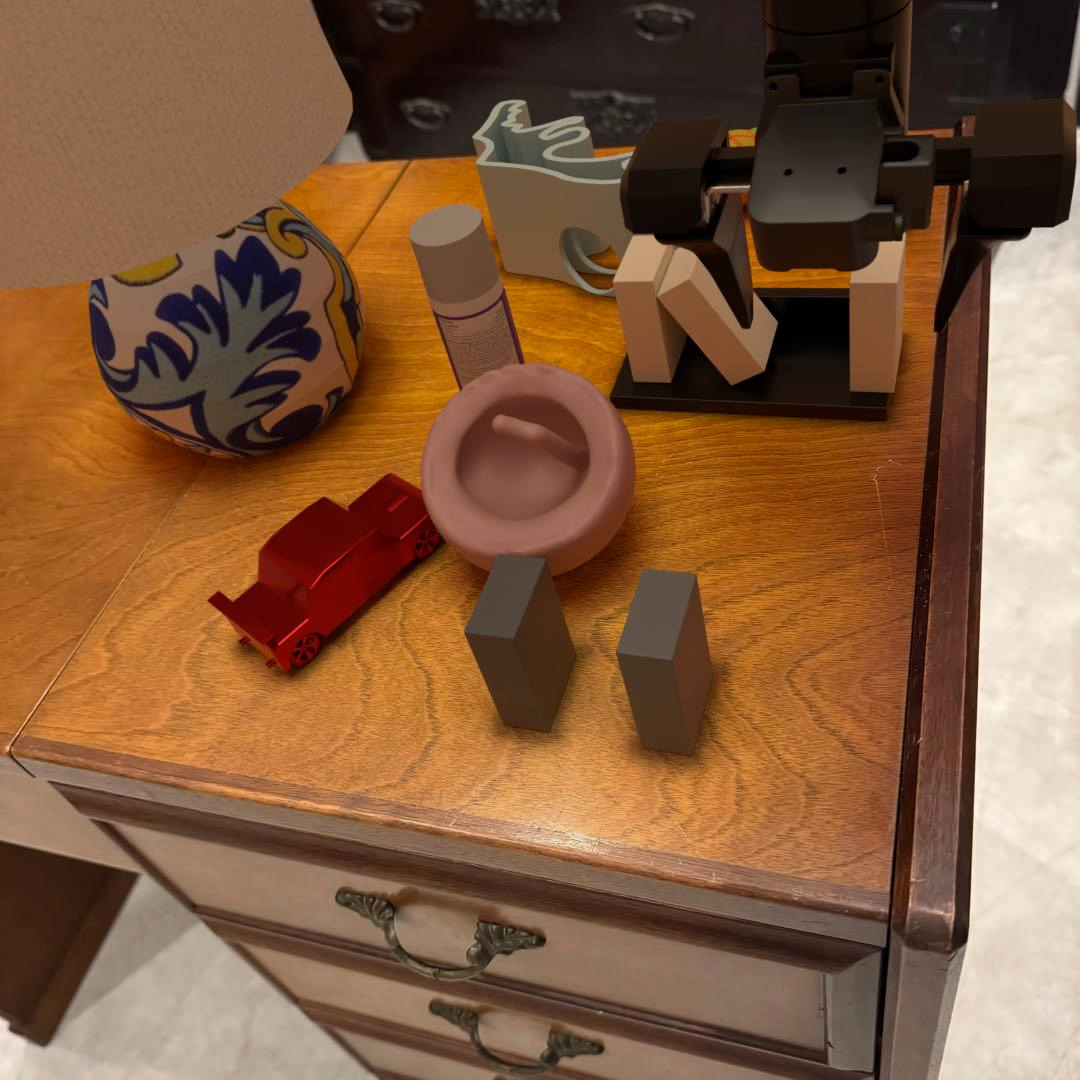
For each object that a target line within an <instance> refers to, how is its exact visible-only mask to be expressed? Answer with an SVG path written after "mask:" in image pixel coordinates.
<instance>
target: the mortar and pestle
mask: <svg viewBox="0 0 1080 1080" xmlns="http://www.w3.org/2000/svg"><path fill="white" fill-rule="evenodd" d="M636 476H637V466H636V455H635V448H634V444H633V440H632V438H631V434H630V432H629V429H628V427H627V425H626V423H625V421H624V419H623V417H622V416H621V414H620V413H619V410H618V409H617V408H615V407H614V405H613V404H612V403H611V402H610V398H608V397H607V395H606V394H604V393H603V391H601V390H600V389H599V388H597V386H595V384H594V383H592V382H591V381H590V380H589V379H588V378H586V377H584V376H583V375H581V374H580V373H576V372H574V371H571V370H569V369H565V368H562V367H560V366H557V365H553V364H548V363H546V362H545V363H544V362H528V363H525V364H517V363H515V364H510V365H507V366H504V367H502V368H501V369H498V370H491V371H488V372H485V373H484V374H483V375H482V376H481V377H479V378H477V379H475V380H473V381H471V382H469V383H468V384H466V385H465V386H464V387H463V388H462V390H461V391H460V390H459V392H457V393H456V394H454V395H452V397H451V398H450V399H449V400H448V402H447V404H446V405H445V406H444V407H443V408H442V409H441V410H440V412H439V413H438V414H437V415H436V417H435V418H434V420H433V422H432V425H431V427H430V429H429V431H428V433H427V437H426V440H425V443H424V446H423V450H422V455H421V462H420V489H421V490H422V496H423V499H424V503H425V506H426V509H427V511H428V514H429V516H430V518H431V520H432V522H433V524H434V525H435V527H436V529H437V530H438V532H439V535H440V537H442V539H443V540H444V541H445V542H446V543H447V544H448V545H449V546H450V547H451V549H452V550H453V551H455V552H456V553H457V554H458V555H460V556H461V557H462V558H463V559H464V560H466V561H468V562H469V563H471V564H473V565H474V566H476V567H477V568H480V569H481V570H484V571H486V572H488V573H490V571H491V569H492V567H493V565H494V562H495V560H496V558H497V556H498V554H506V555H516V556H526V557H535V558H545V559H546V560H547V563H548V566H549V570H550V573H551V576H552V577H556V576H559V575H562V574H565V573H568V572H570V571H572V570H575V569H576V568H579V567H581V566H583V564H585V563H587V562H589V561H591V559H593V558H594V557H595V556H597V555H598V554H599V553H600V552H601V551H602V550H603V549H605V547H607V545H608V544H609V543H610V542H611V541H612V540H613V538H614V537H615V536H616V534H618V531H619V530H620V528H621V527H622V526H623V524H624V521H625V520H626V517H627V515H628V513H629V511H630V508H631V505H632V500H633V497H634V493H635V489H636V488H635V487H636Z"/></svg>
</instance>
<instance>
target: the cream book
mask: <svg viewBox="0 0 1080 1080" xmlns="http://www.w3.org/2000/svg"><path fill="white" fill-rule="evenodd" d="M906 248H907V233H906V232H904V234H903V239H902V241H900V242H894V241H893V242H879V249H878V254H877V256H876V258H875V260H874V261H873V262H872V263H871V264H870V265H869V266H867V267H865V268H863V269H861V270H858V271H852V272H851V275H850V279H849V288H850V391H857V392H884V393H891V394H894V393H895V389H896V382H897V375H898V369H899V364H900V358H901V357H900V356H901V350H902V345H903V326H904V325H903V324H904V303H905V279H906V278H905V276H906V252H907V249H906Z"/></svg>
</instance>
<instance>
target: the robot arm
mask: <svg viewBox="0 0 1080 1080" xmlns="http://www.w3.org/2000/svg"><path fill="white" fill-rule="evenodd" d="M760 3H761V17H762V19H761V20H762V35H763V50H764V52H763V53H764V64H763V79H764V82H763V86H762V89H763V105H762V109H761V112H760V116H759V119H758V123H757V130H756V134H755V138H754V140H755V146H737V147H730V142H729V131H730V130H729V124H728V123H727V122H726V120H725V118H724V117H723V116H717V117H700V118H699V117H697V118H679V119H678V118H677V119H662V120H661V119H660V120H652V121H651V123H650V124H649V125H648V126H647V127H646V129H645V131H644V132H642V134H641V136H640V138H639V140H638V141H637V144H636V146H635V148H634V150H633V151H634V152H633V154H632V156H631V158H630V160H629V163H628V165H627V167H626V169H625V171H624V173H623V175H622V177H621V183H620V202H621V208H622V214H623V219H624V225H625V228H626V229H627V230H629V231H630V232H631V233H633V234H654V238H655V239H656V241H657V242H658V243H660V244H662V245H674V246H678V247H681V248H684V249H686V250H689V251H691V252H693V253H694V254H695V255H696V256H697V258H698V259H699V260H700V261H701V263H702V264H703V265H704V267H705V268H706V269H707V271H708V272H709V273H710V275H711V276H712V278H713V280H714V281H715V283H716V285H717V287H718V288H719V290H720V292H721V293H722V295H723V297H724V299H725V300H726V302H727V304H728V306H729V307H730V309H731V311H732V312H733V314H734V316H735V318H736V319H737V321H738V323H739V324H740V326H741V328H742V329H750V328H751V324H752V321H753V288H754V284H753V275H752V267H751V261H750V254H749V253H750V252H749V246H748V237H747V229H746V223H745V215H744V205H743V206H742V199H741V193H749V194H748V200H747V204H746V212H747V218H748V222H749V227H750V232H751V237H752V241H753V247H754V251H755V256H756V260H757V263H758V264H759V265H760V266H761V267H762V268H763V269H765V270H767V271H769V272H773V273H788V272H790V271H791V270H835V271H837V272H840V273H849V272H851V273H852V271H858V270H861V269H863V268H865V267H867V266H869V265H870V264H871V263H872V262H873V261H874V260H875V258H876V256H877V254H878V249H879V242H893V241H894V242H900V241H902V239H903V234H904V233H906V232H908V231H912V230H927V229H928V228H929V227H930V225H931V219H932V218H931V217H932V209H933V201H934V200H933V199H934V192H935V191H934V190H935V187H944V186H945V187H946V186H948V187H950V186H951V187H952V186H959V189H958V193H957V198H956V202H955V207H954V212H953V217H952V221H951V226H950V230H949V235H948V239H947V244H946V249H945V254H944V257H943V262H942V267H941V272H940V277H939V281H938V286H937V290H936V291H937V292H936V298H935V299H936V300H935V306H934V307H935V308H934V315H933V316H934V317H933V318H934V319H933V332H934V333H943V332H944V330H945V329H946V327H947V325H948V323H949V321H950V319H951V317H952V315H953V313H954V311H955V309H956V307H957V305H958V304H959V301H960V300H961V297H963V294H964V292H965V290H966V289H967V286H968V284H969V282H970V280H972V277H973V275H974V273H975V272H976V271H977V269H978V267H979V266H980V265H981V263H982V262H983V261H984V260H985V258H986V256H987V255H988V254H989V253H990V252H991V250H992V249H994V248H996V247H998V246H999V245H1001V244H1003V243H1006V242H1021V241H1023V240H1025V239H1027V238H1029V236H1030V235H1031V233H1032V230H1033V229H1049V228H1051V229H1054V228H1055V227H1058V226H1060V225H1061V224H1063V223H1065V222H1067V221H1069V220H1070V214H1071V208H1072V203H1073V195H1074V189H1075V182H1076V173H1077V164H1078V163H1077V162H1078V161H1077V159H1078V157H1077V155H1078V153H1077V149H1078V147H1077V146H1078V145H1077V144H1078V142H1077V141H1078V140H1077V139H1078V138H1077V137H1078V136H1077V135H1078V130H1077V129H1078V127H1077V124H1078V123H1077V121H1078V120H1077V118H1078V116H1077V115H1078V114H1077V112H1076V111H1075V109H1074V108H1073V107H1072V106H1071V105H1070V104H1069V102H1068V101H1067V100H1066V99H1065V98H1064V97H1063V98H1046V99H1045V98H1044V99H1026V100H1025V99H1024V100H1008V101H1007V100H1006V101H990V102H988V101H987V102H977V103H976V108H975V117H974V126H973V133H972V135H966V136H965V135H964V136H944V137H943V136H942V137H941V136H940V137H936V136H935V135H934V134H933V133H926V134H925V133H924V134H909V133H908V132H909V111H910V109H909V108H910V107H909V106H910V84H911V83H910V81H911V77H910V76H911V55H912V54H911V52H912V51H911V49H912V25H913V22H912V21H913V0H760Z"/></svg>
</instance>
